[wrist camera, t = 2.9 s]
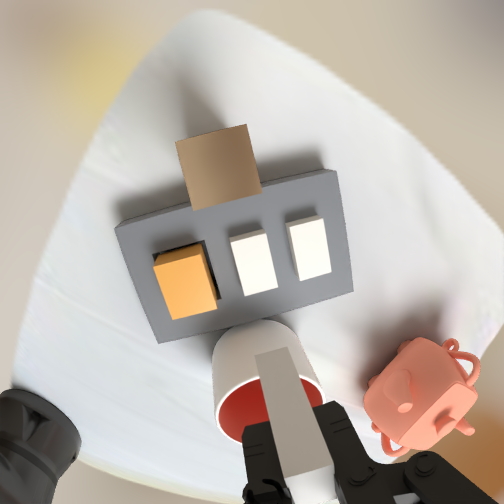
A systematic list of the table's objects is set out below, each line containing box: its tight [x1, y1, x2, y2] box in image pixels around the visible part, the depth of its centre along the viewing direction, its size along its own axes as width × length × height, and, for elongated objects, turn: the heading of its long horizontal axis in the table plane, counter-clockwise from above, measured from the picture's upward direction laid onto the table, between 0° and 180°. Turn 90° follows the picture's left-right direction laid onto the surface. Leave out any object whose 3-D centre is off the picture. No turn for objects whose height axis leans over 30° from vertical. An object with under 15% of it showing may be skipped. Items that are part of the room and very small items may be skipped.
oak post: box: [175, 124, 263, 211], centre depth 23 cm, size 4×4×12 cm
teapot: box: [363, 337, 480, 457], centre depth 34 cm, size 15×17×13 cm
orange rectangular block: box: [153, 243, 217, 320], centre depth 28 cm, size 4×5×3 cm
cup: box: [212, 319, 326, 444], centre depth 31 cm, size 10×10×10 cm
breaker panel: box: [114, 169, 354, 344], centre depth 29 cm, size 20×12×4 cm, turn 103°
